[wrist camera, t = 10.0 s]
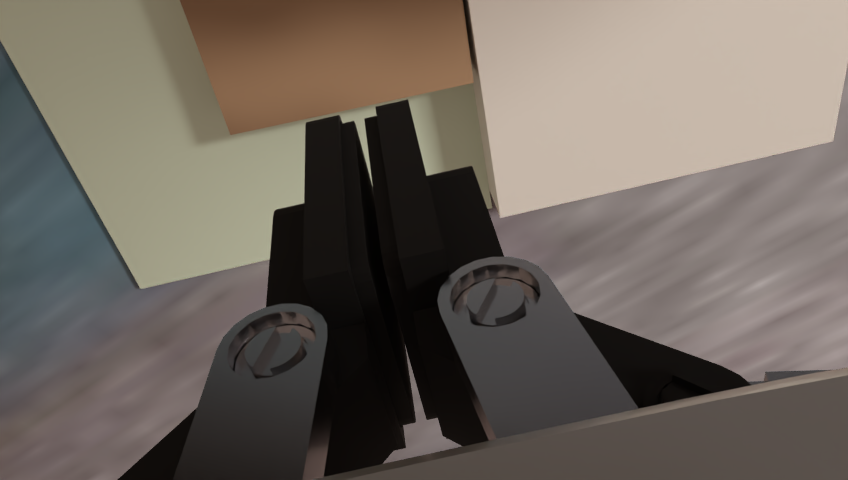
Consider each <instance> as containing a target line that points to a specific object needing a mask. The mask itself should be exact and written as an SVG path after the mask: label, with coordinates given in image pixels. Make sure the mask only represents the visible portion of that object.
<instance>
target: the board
mask: <svg viewBox="0 0 848 480" xmlns="http://www.w3.org/2000/svg"><path fill="white" fill-rule="evenodd" d="M463 7H464V14H465V21H466V29H467V36H468V44H469V51H470V58H471V66H472V73H473V81H474V83H473V87H474V93H475V100H476V106H477V113H478V119H479V126H480V132H481V139H482V145H483V152H484V158H485V165H486V171H487V178H488V184H489V190H490V193H491V195H492V198H493V200H494V203H495V205H496V208H497V211H498V213H499V216H500V218H502V217H506V216H511V215H515V214H519V213H524V212H528V211H532V210H537V209H541V208H545V207H550V206H554V205H559V204H563V203H567V202H572V201H576V200H580V199H585V198H589V197H593V196H598V195H602V194H606V193H611V192H615V191H619V190H624V189H628V188H632V187H637V186H641V185H645V184H650V183H654V182H658V181H663V180H667V179H671V178H676V177H680V176H685V175H689V174H693V173H698V172H702V171H706V170H711V169H715V168H719V167H724V166H728V165H732V164H737V163H741V162H745V161H750V160H754V159H758V158H763V157H767V156H771V155H776V154H780V153H784V152H789V151H793V150H797V149H802V148H806V147H810V146H815V145H819V144H824V143H828V142H832V141H833V139H834V134H835V128H836V123H837V118H838V112H839V107H840V101H841V96H842V91H843V85H844V80H845V75H846V69H847V64H848V0H463Z"/></svg>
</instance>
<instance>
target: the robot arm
mask: <svg viewBox="0 0 848 480" xmlns="http://www.w3.org/2000/svg"><path fill="white" fill-rule="evenodd" d="M375 109H376V115H377V116H373V117H369V118H364V121H365V129H366V137H367V145H368V153H369V161H370V169H371V177H372V183H371V179H370V175H369V172H368V168H367V164H366V161H365V157H364V153H363V150H362V146H361V142H360V138H359V135H358V131H357V128H356V124H355V122H354V121H351V122H346V123H342V120H341V117H340V116H339V115H336V116H332V117H328V118H323V119H319V120H314V121H310V122H306V125H305V186H304V203H303V204H298V205H294V206H289V207H285V208H280V209H276V210H275V211H274V215H273V224H272V237H271V250H270V263H269V277H268V290H267V303H266V307H265V308H263V309H261V310H258V311H256V312H254V313H252V314H249V315H248V316H246V317H245V318H244V319H242V320H241V321H239V322H238V323H236V324H235V325H234V326H233V327H232V328H231V329H230V330H229V331H228V332H227V334H226V335H225V336H224V337H223V339H222V341H221V343H220V345H219V346H218V348H217V350H216V353H215V356H214V359H213V362H212V365H211V368H210V371H209V374H208V377H207V380H206V383H205V386H204V389H203V392H202V395H201V398H200V401H199V404H198V407H197V408H196V409H195V410H194V411H193V412H192V413H191V414H190V415H189V416H188V417H186V418H185V419H184V420H183V421H182V422H181V423H180V424H179V425H178V426H177V427H175V428H174V429H173V430H172V431H171V432H170V433H169V434H168V435H167V436H165V437H164V438H163V439H162V440H161V441H160V442H159V443H158V444H157V445H156V446H154V447H153V448H152V449H151V450H150V451H149V452H148V453H147V454H146V455H144V456H143V457H142V458H141V459H140V460H139V461H138V462H137V463H136V464H134V465H133V466H132V467H131V468H130V469H129V470H128V471H127V472H126V473H125V474H123V475H122V476H121V477H120V478H119V479H118V480H848V368H842V369H836V370H813V371H779V372H765V378H764V381H758V382H747V381H746V380H745V379H744V378H742V377H741V376H740V375H739V374H736V373H734V372H732V371H730V370H728V369H726V368H724V367H722V366H720V365H717V364H715V363H712V362H709V361H706V360H704V359H701V358H698V357H695V356H692V355H690V354H687V353H684V352H681V351H679V350H676V349H673V348H670V347H667V346H665V345H662V344H659V343H656V342H654V341H651V340H648V339H645V338H642V337H640V336H637V335H634V334H631V333H629V332H626V331H623V330H620V329H618V328H615V327H612V326H609V325H606V324H604V323H601V322H598V321H595V320H593V319H590V318H587V317H584V316H581V315H579V314H576V313H573V311H572V310H571V308H570V307H569V305H568V304H567V302H566V301H565V300H564V298H563V297H562V295H561V294H560V292H559V291H558V289H557V288H556V286H555V285H554V283H553V282H552V280H551V279H550V278H549V276H548V275H547V274H546V273H545V272H544V271H543V270H542V269H541V268H540V267H539V266H537V265H535V264H533V263H531V262H529V261H527V260H524V259H519V258H514V257H504V255H503V252H502V249H501V247H500V244H499V241H498V238H497V235H496V232H495V229H494V226H493V224H492V221H491V218H490V215H489V212H488V209H487V206H486V203H485V201H484V198H483V195H482V192H481V189H480V186H479V183H478V180H477V178H476V175H475V172H474V169H473V167H472V166H468V167H463V168H459V169H454V170H450V171H445V172H441V173H437V174H432V175H428V176H426V172H425V167H424V163H423V159H422V155H421V151H420V147H419V143H418V139H417V134H416V130H415V126H414V122H413V118H412V114H411V110H410V106H409V102H408V99H407V100H403V101H399V102H394V103H390V104H385V105H381V106H376V107H375ZM372 185H373V186H372ZM405 345H406V349H407V352H408V356H409V359H410V363H411V366H412V370H413V373H414V377H415V380H416V384H417V387H418V391H419V394H420V398H421V401H422V405H423V408H424V412H425V415H426V419H427V420H429V419H433V418H438V420H439V423H440V427H441V431H442V435H443V436H444V437H446V439H450V440H452V441H454V442H456V443H458V444H459V445H461V446H463V447H458V448H454V449H449V450H445V451H440V452H436V453H431V454H426V455H422V456H417V457H413V458H408V459H404V460H399V461H395V462H390V463H385V464H382V463H383V462H384V461H385V460H386V459H387V458H388V456H389V455H390V454H391V453H392V452H393V451H394V450H398V449H403V448H406V445H405V437H404V429H403V425H406V424H411V423H415V422H416V419H415V411H414V404H413V397H412V390H411V383H410V376H409V370H408V363H407V356H406V349H405Z"/></svg>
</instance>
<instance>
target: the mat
mask: <svg viewBox="0 0 848 480" xmlns="http://www.w3.org/2000/svg"><path fill="white" fill-rule="evenodd" d="M0 41H1V42H2V44H3V46H4V48H5V50H6V51H7V53H8V55H9V57H10V58H11V60H12V62H13V64H14V66H15V67H16V69H17V71H18V73H19V74H20V76H21V78H22V80H23V81H24V83H25V85H26V87H27V89H28V90H29V92H30V94H31V96H32V97H33V99H34V101H35V103H36V104H37V106H38V108H39V110H40V112H41V113H42V115H43V117H44V119H45V120H46V122H47V124H48V126H49V128H50V129H51V131H52V133H53V135H54V136H55V138H56V140H57V142H58V143H59V145H60V147H61V149H62V151H63V152H64V154H65V156H66V158H67V159H68V161H69V163H70V165H71V166H72V168H73V170H74V172H75V174H76V175H77V177H78V179H79V181H80V182H81V184H82V186H83V188H84V190H85V191H86V193H87V195H88V197H89V198H90V200H91V202H92V204H93V205H94V207H95V209H96V211H97V213H98V214H99V216H100V218H101V220H102V221H103V223H104V225H105V227H106V228H107V230H108V232H109V234H110V236H111V237H112V239H113V241H114V243H115V244H116V246H117V248H118V250H119V252H120V253H121V255H122V257H123V259H124V260H125V262H126V264H127V266H128V267H129V269H130V271H131V273H132V275H133V276H134V278H135V280H136V282H137V283H138V285H139V287H140V289H143V288H147V287H152V286H156V285H160V284H165V283H169V282H174V281H178V280H182V279H187V278H191V277H195V276H200V275H204V274H208V273H213V272H217V271H221V270H226V269H230V268H234V267H239V266H243V265H247V264H252V263H256V262H260V261H265V260H269V259H270V250H271V237H272V224H273V215H274V211H275V210H276V209H280V208H285V207H289V206H294V205H298V204H303V203H304V186H305V125H306V122H310V121H314V120H319V119H323V118H328V117H332V116H336V115H339V116H340V117H341V120H342V123H346V122H351V121H354V122H355V124H356V128H357V131H358V135H359V138H360V142H361V146H362V150H363V153H364V157H365V161H366V164H367V168H368V172H369V175H370V179H371V183H372V177H371V169H370V161H369V153H368V145H367V137H366V129H365V121H364V118H369V117H373V116H377V115H376V109H375V107H376V106H381V105H385V104H390V103H394V102H399V101H403V100H407V99H408V102H409V106H410V110H411V114H412V118H413V122H414V126H415V130H416V134H417V139H418V143H419V147H420V151H421V155H422V159H423V163H424V167H425V172H426V176H428V175H432V174H437V173H441V172H445V171H450V170H454V169H459V168H463V167H468V166H472V167H473V169H474V172H475V175H476V178H477V180H478V183H479V186H480V189H481V192H482V195H483V198H484V201H485V203H486V206H487V209H491V208H492V204H491V197H490V191H489V184H488V178H487V171H486V165H485V158H484V152H483V145H482V139H481V132H480V126H479V119H478V113H477V106H476V100H475V93H474V87H473V83H471V84H466V85H461V86H457V87H452V88H448V89H443V90H438V91H434V92H429V93H424V94H420V95H415V96H410V97H406V98H401V99H396V100H392V101H387V102H383V103H378V104H373V105H369V106H364V107H359V108H355V109H350V110H345V111H341V112H336V113H331V114H327V115H322V116H317V117H313V118H308V119H304V120H299V121H294V122H290V123H285V124H280V125H276V126H271V127H266V128H262V129H257V130H252V131H248V132H243V133H238V134H234V135H230V133H229V130H228V127H227V125H226V122H225V119H224V117H223V114H222V111H221V109H220V106H219V103H218V101H217V98H216V95H215V93H214V90H213V87H212V85H211V82H210V79H209V77H208V74H207V71H206V69H205V66H204V63H203V61H202V58H201V55H200V53H199V50H198V47H197V45H196V42H195V39H194V37H193V34H192V31H191V29H190V26H189V23H188V21H187V18H186V15H185V13H184V10H183V7H182V5H181V2H180V0H0ZM372 186H373V185H372Z"/></svg>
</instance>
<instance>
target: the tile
mask: <svg viewBox="0 0 848 480" xmlns="http://www.w3.org/2000/svg"><path fill="white" fill-rule="evenodd" d="M180 2H181V5H182V7H183V10H184V13H185V15H186V18H187V21H188V23H189V26H190V29H191V31H192V34H193V37H194V39H195V42H196V45H197V47H198V50H199V53H200V55H201V58H202V61H203V63H204V66H205V69H206V71H207V74H208V77H209V79H210V82H211V85H212V87H213V90H214V93H215V95H216V98H217V101H218V103H219V106H220V109H221V111H222V114H223V117H224V119H225V122H226V125H227V127H228V130H229V133H230V135H234V134H238V133H243V132H248V131H252V130H257V129H262V128H266V127H271V126H276V125H280V124H285V123H290V122H294V121H299V120H304V119H308V118H313V117H317V116H322V115H327V114H331V113H336V112H341V111H345V110H350V109H355V108H359V107H364V106H369V105H373V104H378V103H383V102H387V101H392V100H396V99H401V98H406V97H410V96H415V95H420V94H424V93H429V92H434V91H438V90H443V89H448V88H452V87H457V86H461V85H466V84H471V83H474V81H473V73H472V66H471V58H470V51H469V44H468V36H467V29H466V21H465V14H464V7H463V0H180Z"/></svg>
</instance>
